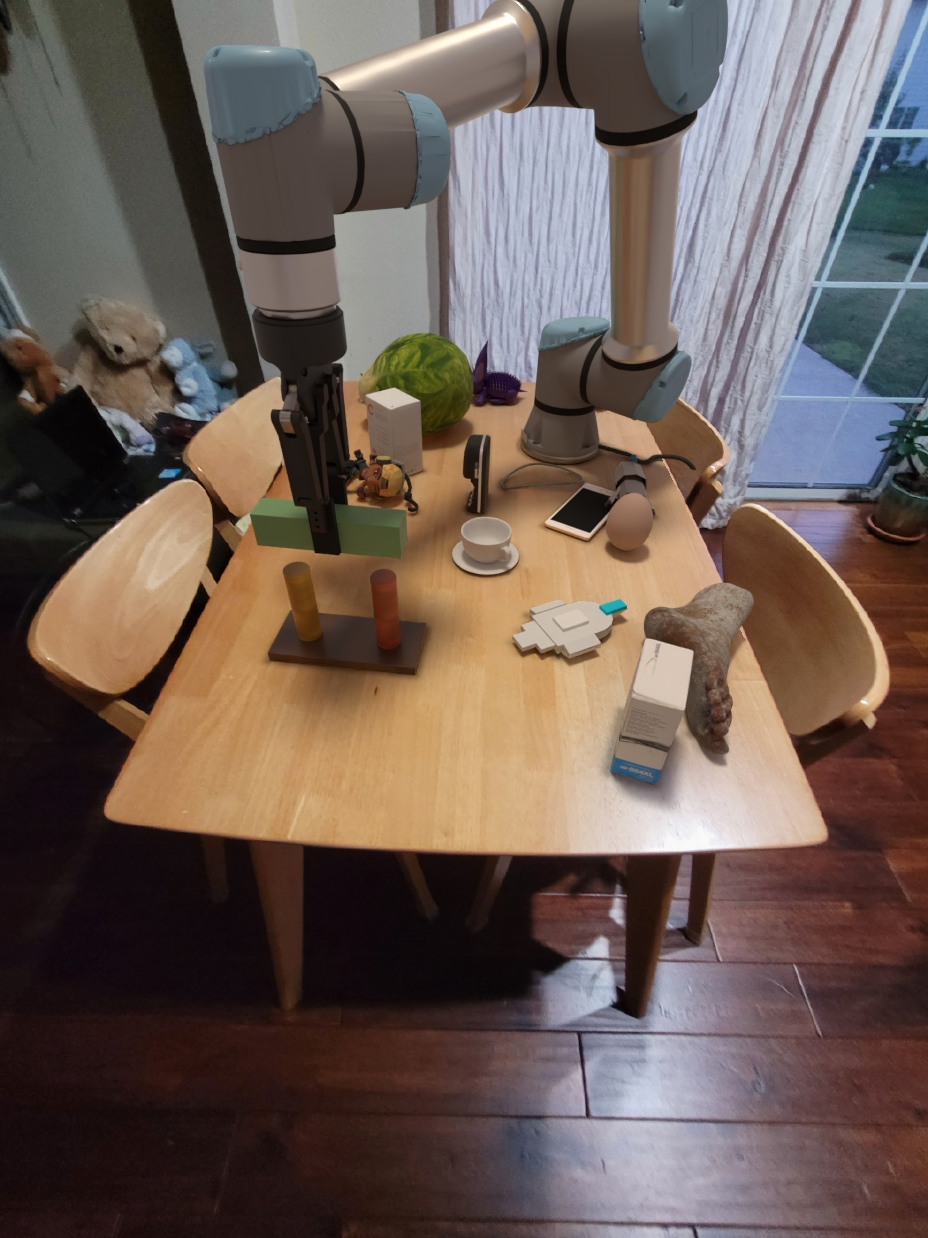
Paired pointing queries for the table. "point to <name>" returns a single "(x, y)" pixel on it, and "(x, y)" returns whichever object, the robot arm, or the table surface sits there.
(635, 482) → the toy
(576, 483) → the loop
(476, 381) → the creature
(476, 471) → the battery charger
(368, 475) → the toy
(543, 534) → the table surface
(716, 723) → the sculpture
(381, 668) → the rods
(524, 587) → the table surface
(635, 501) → the egg
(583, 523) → the cell phone
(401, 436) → the small box
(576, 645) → the toy rocket
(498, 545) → the teacup
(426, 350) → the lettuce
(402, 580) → the table surface
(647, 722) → the ink box
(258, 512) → the bar
